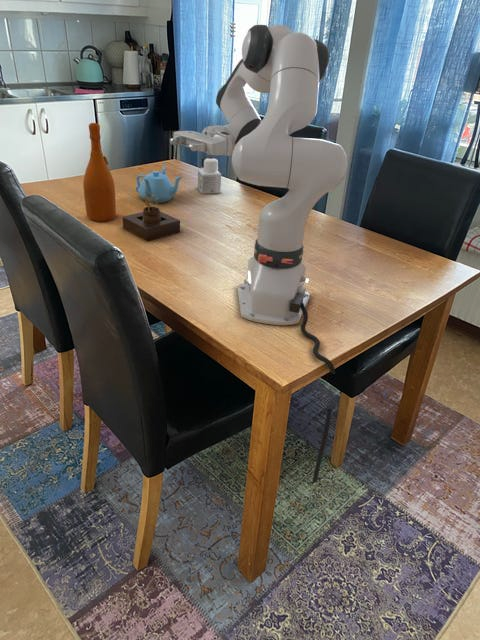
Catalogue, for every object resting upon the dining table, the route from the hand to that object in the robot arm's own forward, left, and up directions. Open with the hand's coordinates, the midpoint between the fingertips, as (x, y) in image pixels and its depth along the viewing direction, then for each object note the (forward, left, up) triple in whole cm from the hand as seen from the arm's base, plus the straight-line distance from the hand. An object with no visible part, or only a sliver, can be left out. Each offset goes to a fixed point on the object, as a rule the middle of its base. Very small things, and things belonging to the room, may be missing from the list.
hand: (180, 144), depth 152 cm
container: (+38, -3, -26) cm, 46 cm away
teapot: (+21, +13, -26) cm, 36 cm away
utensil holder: (-9, +7, -26) cm, 28 cm away
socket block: (-10, +7, -26) cm, 28 cm away
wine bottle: (-4, +26, -26) cm, 37 cm away
